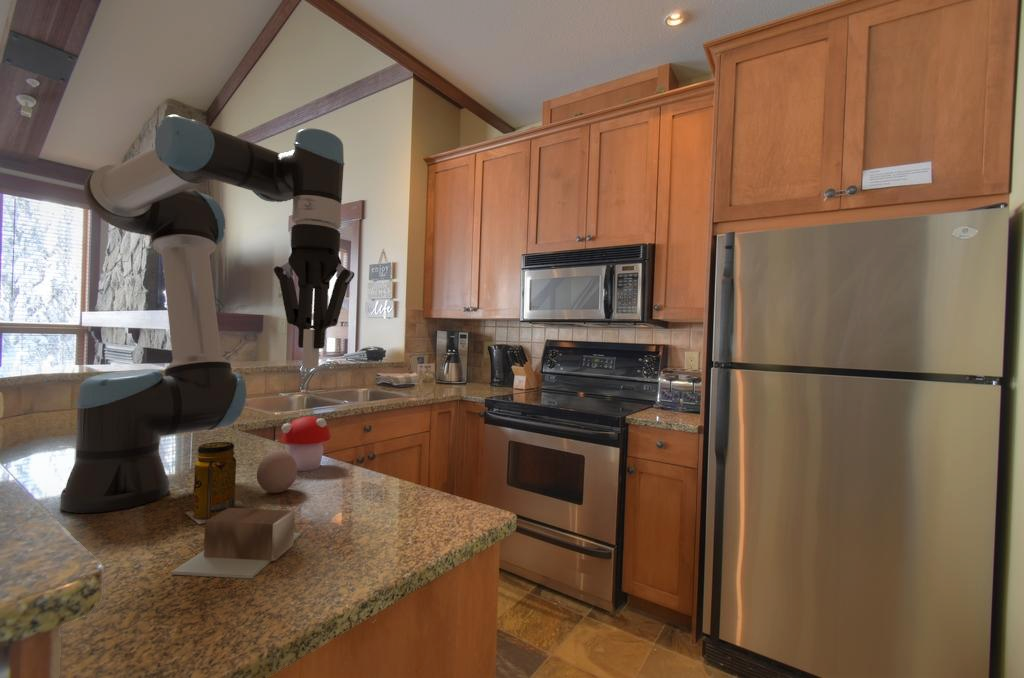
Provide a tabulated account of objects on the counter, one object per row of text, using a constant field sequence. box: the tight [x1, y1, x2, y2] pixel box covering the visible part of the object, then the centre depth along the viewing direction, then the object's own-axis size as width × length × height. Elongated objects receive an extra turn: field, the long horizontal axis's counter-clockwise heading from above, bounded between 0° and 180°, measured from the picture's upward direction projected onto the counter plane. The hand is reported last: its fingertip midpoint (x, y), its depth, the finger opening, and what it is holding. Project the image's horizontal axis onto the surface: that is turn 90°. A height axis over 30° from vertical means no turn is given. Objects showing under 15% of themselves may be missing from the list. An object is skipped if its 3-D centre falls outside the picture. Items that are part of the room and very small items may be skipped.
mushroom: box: [280, 415, 332, 472], centre depth 109 cm, size 11×11×12 cm
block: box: [203, 508, 296, 562], centre depth 66 cm, size 5×5×10 cm
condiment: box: [185, 441, 252, 525], centre depth 80 cm, size 7×8×12 cm
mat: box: [171, 532, 302, 579], centre depth 66 cm, size 10×13×1 cm
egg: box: [256, 449, 298, 494], centre depth 91 cm, size 7×7×8 cm
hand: (310, 367), depth 77 cm, fingers closed
